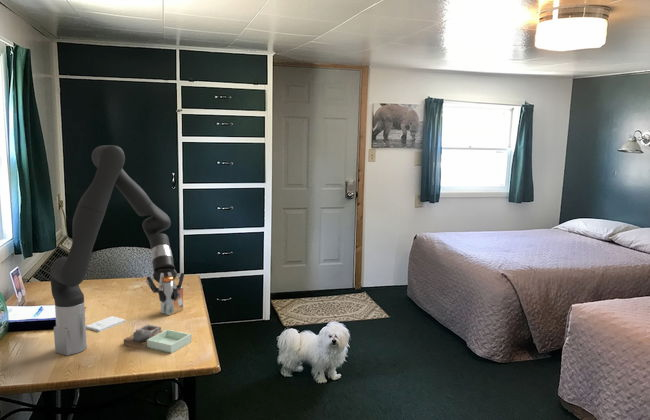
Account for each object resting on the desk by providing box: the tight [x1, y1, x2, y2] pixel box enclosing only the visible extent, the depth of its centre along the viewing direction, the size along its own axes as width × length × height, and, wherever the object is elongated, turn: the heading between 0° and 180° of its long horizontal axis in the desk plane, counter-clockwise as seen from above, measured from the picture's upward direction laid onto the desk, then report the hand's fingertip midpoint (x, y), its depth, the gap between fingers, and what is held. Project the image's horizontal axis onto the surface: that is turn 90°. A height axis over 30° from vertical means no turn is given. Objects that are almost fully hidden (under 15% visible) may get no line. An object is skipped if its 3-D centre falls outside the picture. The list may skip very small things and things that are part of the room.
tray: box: [146, 329, 192, 354], centre depth 186 cm, size 11×11×3 cm
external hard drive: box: [86, 315, 126, 333], centre depth 204 cm, size 2×8×12 cm
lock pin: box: [162, 276, 174, 315], centre depth 183 cm, size 4×4×13 cm
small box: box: [160, 286, 184, 316], centre depth 219 cm, size 8×6×10 cm
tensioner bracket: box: [123, 324, 164, 350], centre depth 189 cm, size 12×9×5 cm
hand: (169, 300), depth 182 cm, fingers closed on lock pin, 3 cm apart
